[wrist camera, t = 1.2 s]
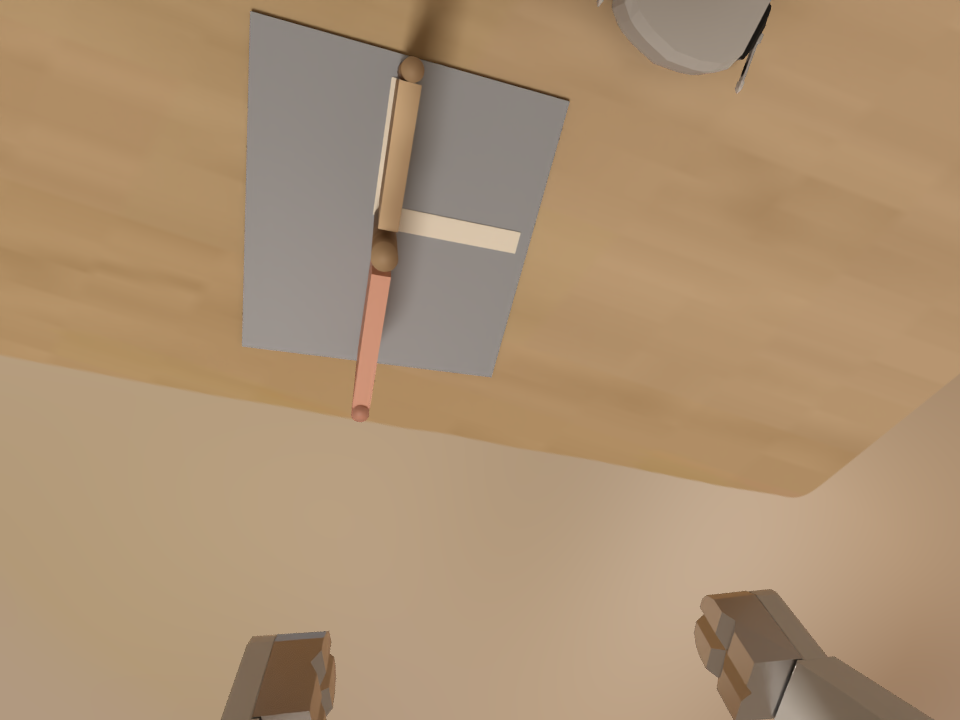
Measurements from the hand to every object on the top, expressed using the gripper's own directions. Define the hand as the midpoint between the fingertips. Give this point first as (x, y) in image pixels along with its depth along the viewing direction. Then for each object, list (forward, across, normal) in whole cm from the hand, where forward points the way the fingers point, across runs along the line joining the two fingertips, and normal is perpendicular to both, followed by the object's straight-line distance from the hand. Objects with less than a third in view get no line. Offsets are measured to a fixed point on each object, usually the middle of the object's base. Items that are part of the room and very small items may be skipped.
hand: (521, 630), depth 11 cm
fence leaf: (+34, +6, +3) cm, 34 cm away
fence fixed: (+33, +4, -9) cm, 35 cm away
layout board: (+34, +4, -3) cm, 34 cm away
